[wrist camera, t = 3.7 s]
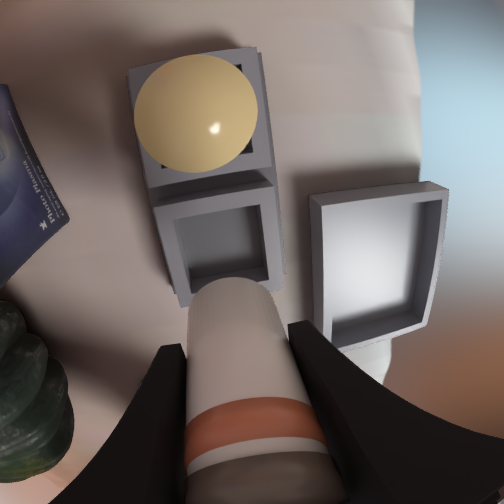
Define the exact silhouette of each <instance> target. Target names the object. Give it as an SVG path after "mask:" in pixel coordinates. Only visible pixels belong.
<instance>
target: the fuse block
mask: <svg viewBox="0 0 504 504" xmlns="http://www.w3.org/2000/svg"><path fill="white" fill-rule="evenodd" d="M194 55H210V56H214V57H218V58H221V59H223V60H225V61H227V62H229V63H231V64H232V65H234V66H235V67H236V68H238V69H239V70H240V71H241V72H242V73H243V74H244V75H245V76H246V78H247V79H248V81H249V82H250V84H251V86H252V88H253V90H254V93H255V96H256V100H257V109H258V114H257V122H256V127H255V130H254V132H253V135H252V137H251V139H250V141H249V142H248V144H247V145H246V147H245V148H244V149H243V150H242V151H241V153H240V154H239V155H237V156H236V157H235V158H234V159H233V160H231V161H230V162H228V163H227V164H225V165H223V166H221V167H219V168H216V169H214V170H210V171H206V172H199V173H188V172H180V171H177V170H173V169H171V168H168V167H166V166H164V165H162V164H160V163H159V162H158V161H156V160H155V159H154V158H152V157H151V156H150V155H149V154H148V152H147V151H146V150H145V149H144V147H143V146H142V144H141V142H140V140H139V138H138V135H137V132H136V128H135V122H134V109H135V103H136V100H137V97H138V94H139V92H140V90H141V88H142V86H143V85H144V83H145V81H146V80H147V79H148V78H149V77H150V75H151V74H152V73H153V72H154V71H156V70H157V69H158V68H159V67H161V66H162V65H164V64H165V63H167V62H169V61H171V60H173V59H176V58H173V59H168V60H163V61H159V62H154V63H150V64H146V65H142V66H138V67H135V68H131V69H128V74H129V75H128V76H126V78H127V86H128V92H129V99H130V105H131V112H132V118H133V123H134V129H135V135H136V140H137V145H138V151H139V156H140V161H141V165H142V170H143V175H144V180H145V184H146V189H147V193H148V197H149V202H150V206H151V210H152V214H153V218H154V222H155V226H156V230H157V234H158V238H159V242H160V245H161V249H162V253H163V256H164V260H165V264H166V267H167V271H168V274H169V277H170V281H171V284H172V288H173V291H174V294H177V297H178V300H179V303H180V307H181V308H182V307H188V306H190V303H191V301H192V299H193V297H194V296H195V294H196V293H197V292H198V291H199V290H200V289H201V288H203V287H204V286H206V285H207V284H209V283H211V282H213V281H216V280H218V279H222V278H229V277H240V278H246V279H250V280H253V281H255V282H257V283H259V284H261V285H262V286H264V287H265V288H266V289H267V290H268V291H269V292H272V291H277V290H282V289H284V282H283V274H286V268H285V257H284V245H283V235H282V224H281V214H280V204H279V194H278V185H277V175H276V166H275V157H274V149H273V140H272V132H271V124H270V116H269V108H268V100H267V92H266V85H265V78H264V70H263V63H262V56H261V53H257V48H256V47H248V48H238V49H229V50H220V51H213V52H206V53H200V54H194ZM178 58H179V57H178Z"/></svg>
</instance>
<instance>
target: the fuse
mask: <svg viewBox="0 0 504 504" xmlns="http://www.w3.org/2000/svg"><path fill="white" fill-rule="evenodd" d="M257 114H258V109H257V100H256V96H255V93H254V90H253V88H252V86H251V84H250V82H249V81H248V79H247V78H246V76H245V75H244V74H243V73H242V72H241V71H240V70H239V69H238V68H236V67H235V66H234V65H232V64H231V63H229V62H227V61H225V60H223V59H221V58H218V57H214V56H210V55H187V56H183V57H179V58H176V59H173V60H171V61H169V62H167V63H165V64H164V65H162V66H161V67H159V68H158V69H157V70H156V71H154V72H153V73H152V74H151V75H150V77H149V78H148V79H147V80H146V81H145V83H144V85H143V86H142V88H141V90H140V92H139V94H138V97H137V100H136V103H135V109H134V122H135V128H136V132H137V135H138V138H139V140H140V142H141V144H142V146H143V147H144V149H145V150H146V151H147V152H148V154H149V155H150V156H151V157H152V158H154V159H155V160H156V161H158V162H159V163H160V164H162V165H164V166H166V167H168V168H171V169H173V170H177V171H180V172H188V173H199V172H206V171H210V170H214V169H216V168H219V167H221V166H223V165H225V164H227V163H228V162H230V161H231V160H233V159H234V158H235V157H236V156H237V155H239V154H240V153H241V151H242V150H243V149H244V148H245V147H246V145H247V144H248V142H249V141H250V139H251V137H252V135H253V132H254V130H255V127H256V122H257Z"/></svg>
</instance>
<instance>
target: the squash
mask: <svg viewBox="0 0 504 504" xmlns="http://www.w3.org/2000/svg"><path fill="white" fill-rule="evenodd" d="M73 432H74V413H73V408H72V404H71V401H70V398H69V395H68V381H67V377H66V374H65V372H64V369H63V367H62V365H61V364H60V363H59V362H58V361H57V360H56V359H55V358H53V357H51V356H48V350H47V347H46V345H45V344H44V342H43V340H42V339H40V338H39V337H38V336H36V335H34V334H29V333H27V327H26V323H25V321H24V318H23V315H22V314H21V312H20V311H19V309H18V308H17V307H16V305H14V304H13V303H11V302H8V301H0V483H12V482H19V481H23V480H26V479H28V478H30V477H32V476H35V475H37V474H41V473H44V472H46V471H48V470H50V469H51V468H53V467H54V466H55V465H57V464H58V462H59V461H60V460H61V459H62V458H63V457H64V455H65V454H66V453H67V451H68V450H69V448H70V445H71V442H72V438H73Z"/></svg>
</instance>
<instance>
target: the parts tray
mask: <svg viewBox="0 0 504 504" xmlns="http://www.w3.org/2000/svg"><path fill="white" fill-rule="evenodd" d="M308 196H309V211H310V228H311V248H312V274H313V319H314V326H315V327H316V328H317V329H318V330H319V331H320V332H321V333H322V334H323V335H324V336H325V337H326V338H327V339H328V340H329V341H330V342H331V343H332V344H333V345H334V346H335V347H336V348H337V349H338V350H339V351H340V352H341V353H344V352H347V351H351V350H354V349H358V348H361V347H365V346H368V345H371V344H374V343H377V342H381V341H384V340H387V339H390V338H393V337H396V336H399V335H402V334H405V333H408V332H410V331H413V330H416V329H419V328H421V327H424V326H426V325H427V321H428V317H429V313H430V309H431V305H432V300H433V296H434V292H435V287H436V282H437V277H438V272H439V267H440V261H441V255H442V249H443V242H444V235H445V227H446V218H447V209H448V198H449V189H447V188H444V187H442V186H440V185H438V184H435V183H433V182H430V181H424V182H413V183H403V184H394V185H384V186H376V187H367V188H359V189H351V190H343V191H335V192H327V193H320V194H313V195H308Z"/></svg>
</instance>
